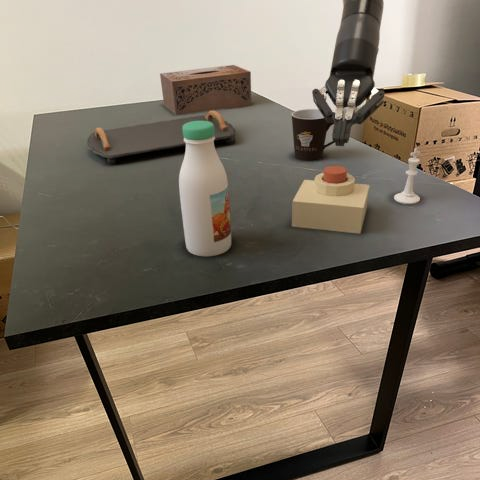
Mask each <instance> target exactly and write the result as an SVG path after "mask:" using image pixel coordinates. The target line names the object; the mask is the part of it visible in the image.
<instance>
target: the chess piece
mask: <svg viewBox="0 0 480 480" xmlns="http://www.w3.org/2000/svg"><path fill="white" fill-rule="evenodd" d="M420 154H421V151H419V148H414V150H413V152H410V154H409V155H410V156H411V157H409V158H408V160H407V162H408V168H409V169H407V170H406V171H405V174H406V175H407V179H406V183H405V186H404V189H403V191H401V192H399V193H396V194H395V195H394V196H393V199H394V200H395V202H397V203H400V204H404V205H414V204H417V203H420V200H421V197H420V196H419V195H418V194H416V193H415V192H414V178H415V176H417V175H418V173H419V172H418V171H417V170H416V169H417V167H418V165H419V163H420V162H421V160H420V158H417V156H419V155H420Z"/></svg>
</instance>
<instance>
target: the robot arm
mask: <svg viewBox="0 0 480 480" xmlns="http://www.w3.org/2000/svg"><path fill="white" fill-rule="evenodd" d="M384 6H385V5H384V0H342V13H341V19H340V25H339V29H338V32H337V35H336V37H335V38H336V39H335V44H334V50H333V55H332V61H331V66H330V72H329V77H328V78H327V80H326V81H325V83H324V86H323V87H321V88H320V89H318V88H314V89H313V90H312V91H311V93H312V101H313V103H314V104H315V106H316V107H317V109H319V111H320V112H321V114H322V115H323V117H324V118H325V120H326V121H327V123H333V129H332V134H331V137H332V138H331V139H332V141H333V142H335V143H334V145H335V146H336V147H345V144H348V143H349V141H350V135H351V130H352V126H354V125H356V124H357V125H362V124H363V123H365V121H366V120H368V119H369V118H370V117H371V115H373V114H374V113H375V112H376V111H377V110H378V109H379V108H380V107H381V106H382V105H384V103H385V91H384V90H383V89H380V90H379V89H377V87H375V86H376V82H375V80H374V76H375V69H376V64H377V58H378V54H379V49H380V48H379V46H380V40H381V39H380V38H381V37H380V35H381V25H382V19H383V14H384V8H385V7H384ZM327 95H328V97H329V99H330V100H331V102H332V104H333V105H334V107H335V111H333V110H332V109H331V107H330V105H329V103H328V102H327V99H328V98H327ZM367 99H368V100H367ZM366 100H367V101H366ZM365 101H366V102H365ZM364 102H365V103H364ZM363 103H364V104H363ZM362 104H363V105H362ZM361 105H362V106H361ZM360 106H361V107H360ZM358 107H360V108H359V109H358ZM345 109H346V111H345Z"/></svg>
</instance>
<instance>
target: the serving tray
mask: <svg viewBox="0 0 480 480" xmlns="http://www.w3.org/2000/svg"><path fill="white" fill-rule="evenodd" d="M192 121H209V122H212V123H213V124H214V129H215V134H214V137H215V140H214V141H218V140H224V141H225V142H224V143H225V144H227V145H231V144H233V143H234V138H235V137H236V135H237V134H236V129H235V127H234V126H233V125H232V124H231V123H229V122H228V121H227V120H225V119H224V117H223V115H222V114H221V113H220V112H219V111H217V110H208V112H207V114H206V115H195V116H189V117H182V118H176V119H170V120H163V121H156V122H149V123H143V124H136V125H131V126H130V125H129V126H124V127H117V128H116V127H115V128H111V129H110V128H109V129H103V128H102V127H96V128H95V131H94V132H92V133H91V134H89V136H88V137H87V140H86V147H87V149H88V150H89V151H90V152H92V153H94V154H95V155H97V156H99V157H102V158H106V162H107V164H108V165H109V166H112V165H116V164H117V159H116V158H121V157H126V156H132V155H138V154H139V155H140V154H146V153H151V152H155V151H160V150H169V149H175V148H180V147H186V142H184V136H183V129H182V128H183V125H184V124H186V123H188V122H192Z"/></svg>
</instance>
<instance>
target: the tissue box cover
mask: <svg viewBox="0 0 480 480" xmlns="http://www.w3.org/2000/svg"><path fill="white" fill-rule="evenodd" d="M251 73H252V72H251V71H250V70H248V69H246V68H243V67H240V66H238V65H235V64H231V65H220V66H213V67H211V66H210V67H205V68H204V67H203V68H196V69H195V68H194V69H185V70H179V71H178V70H177V71H171V72H170V71H169V72H162V73H159V77H160V85H161V91H162V92H161V93H162V102H163V107H164V108H167V109H168V110H169V111H170V112H171V113H172V114H174V115H175V116H180V115H187V114H193V113H200V112H207V111H208V112H209V111H212V110H214V111H216V110H230V109H231V110H232V109H238V108H245V107H251V106H252V75H251Z"/></svg>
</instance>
